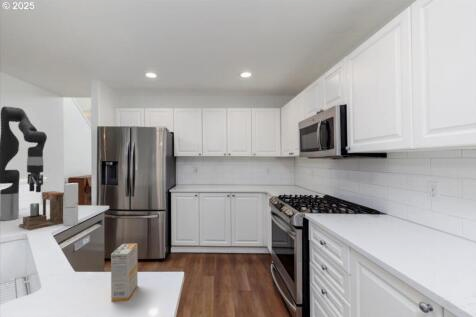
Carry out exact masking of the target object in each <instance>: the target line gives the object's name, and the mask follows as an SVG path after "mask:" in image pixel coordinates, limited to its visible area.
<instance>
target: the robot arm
mask: <svg viewBox="0 0 476 317" xmlns="http://www.w3.org/2000/svg"><path fill="white" fill-rule="evenodd" d="M10 122H13V123H18V124H17V127H18V129H19V131H20V132H21V133H22V134H23V140H24V141H25V142H26V143H31V144H36V145H35V146H29V147H28V148H27V159H26V173H28V174H27V184H28V186H29V190H28V191H29V192H34V191H35V192H36V193H41V192H42V186H43V185H44V175H43V174H41V173H44V148H45V144H46V141H47V139H48V138H47V137H48V136H47V134H46V133H45V131H39V130H37V129H38V128H36V126H34V124H32V123H31V121H30V119H29V117H28V115H27V113H26V112H25V111H24V110H23V109H22V108H19V107H13V106H3V107H2V108H1V109H0V185H2V184H5V185H6V184H11V185H10V186H8V187H6V188H3V189H2V188H1V189H0V221H1V220H5V221H13V220H17V218H18V219H19V218H20V215H19V214H20V208H19V207H20V199H19V198H20V176H21V175H20V171H19V170H18V169H6V168H7V166H8V164H9V163H11V162H10V161H12V160H13V159H14V157H16V155H17V154H18V153H19V150H20V141H19V138H18V137H17V136H16V135H15V134H14V132H13V131H12V129H11V127H10Z"/></svg>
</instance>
